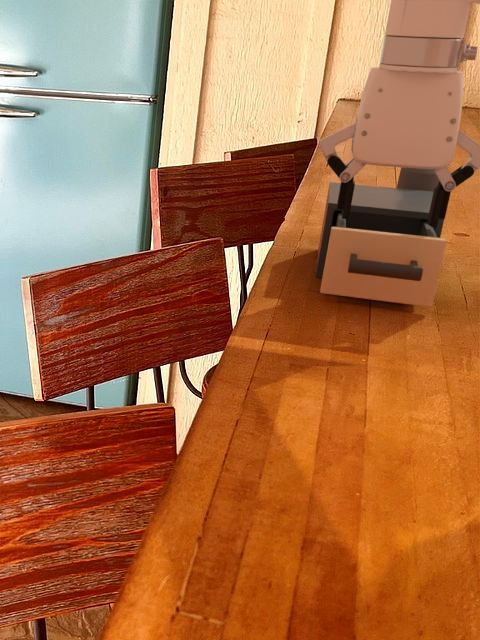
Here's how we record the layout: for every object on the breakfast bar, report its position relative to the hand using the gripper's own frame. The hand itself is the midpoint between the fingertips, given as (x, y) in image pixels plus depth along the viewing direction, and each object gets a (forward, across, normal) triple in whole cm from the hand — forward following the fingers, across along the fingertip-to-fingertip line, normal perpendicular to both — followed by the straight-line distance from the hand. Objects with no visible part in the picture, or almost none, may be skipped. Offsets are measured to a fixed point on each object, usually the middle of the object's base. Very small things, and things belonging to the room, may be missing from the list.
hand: (387, 220), depth 98 cm
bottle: (+9, -5, -27) cm, 29 cm away
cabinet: (+9, 0, -12) cm, 14 cm away
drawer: (+8, 0, +1) cm, 8 cm away
